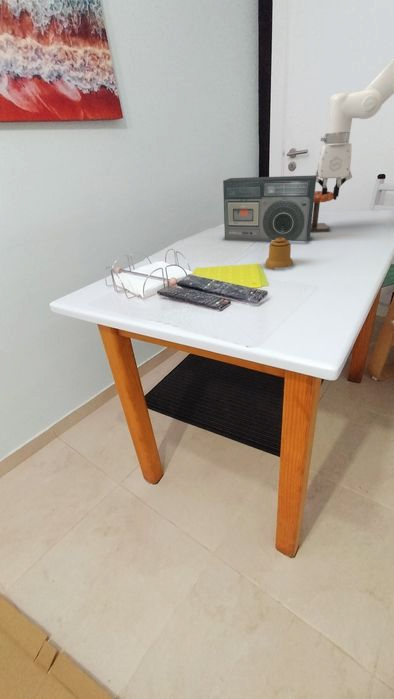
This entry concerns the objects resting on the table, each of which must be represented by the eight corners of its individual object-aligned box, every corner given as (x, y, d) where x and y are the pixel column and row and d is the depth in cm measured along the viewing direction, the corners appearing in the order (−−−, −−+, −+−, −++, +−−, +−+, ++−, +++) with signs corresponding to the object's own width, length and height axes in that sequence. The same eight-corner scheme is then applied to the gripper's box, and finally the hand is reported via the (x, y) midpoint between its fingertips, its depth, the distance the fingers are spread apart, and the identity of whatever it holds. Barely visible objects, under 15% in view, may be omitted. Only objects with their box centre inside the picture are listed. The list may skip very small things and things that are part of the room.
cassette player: (224, 241, 124) (223, 180, 113) (231, 236, 129) (230, 178, 118) (306, 244, 112) (312, 178, 102) (309, 239, 117) (316, 175, 107)
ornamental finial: (284, 273, 92) (260, 268, 96) (296, 265, 96) (273, 261, 101) (286, 243, 87) (261, 240, 92) (299, 236, 92) (275, 234, 96)
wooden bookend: (324, 226, 130) (328, 191, 124) (328, 232, 123) (333, 195, 116) (300, 227, 132) (303, 193, 125) (302, 233, 125) (306, 197, 118)
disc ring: (330, 196, 125) (331, 189, 124) (336, 202, 117) (337, 194, 115) (300, 198, 127) (301, 191, 126) (303, 203, 118) (304, 196, 117)
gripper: (312, 141, 110) (307, 202, 119) (366, 137, 107) (355, 200, 117) (310, 141, 116) (304, 198, 126) (360, 137, 113) (350, 196, 123)
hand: (329, 198), depth 121 cm, fingers closed on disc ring, 2 cm apart
